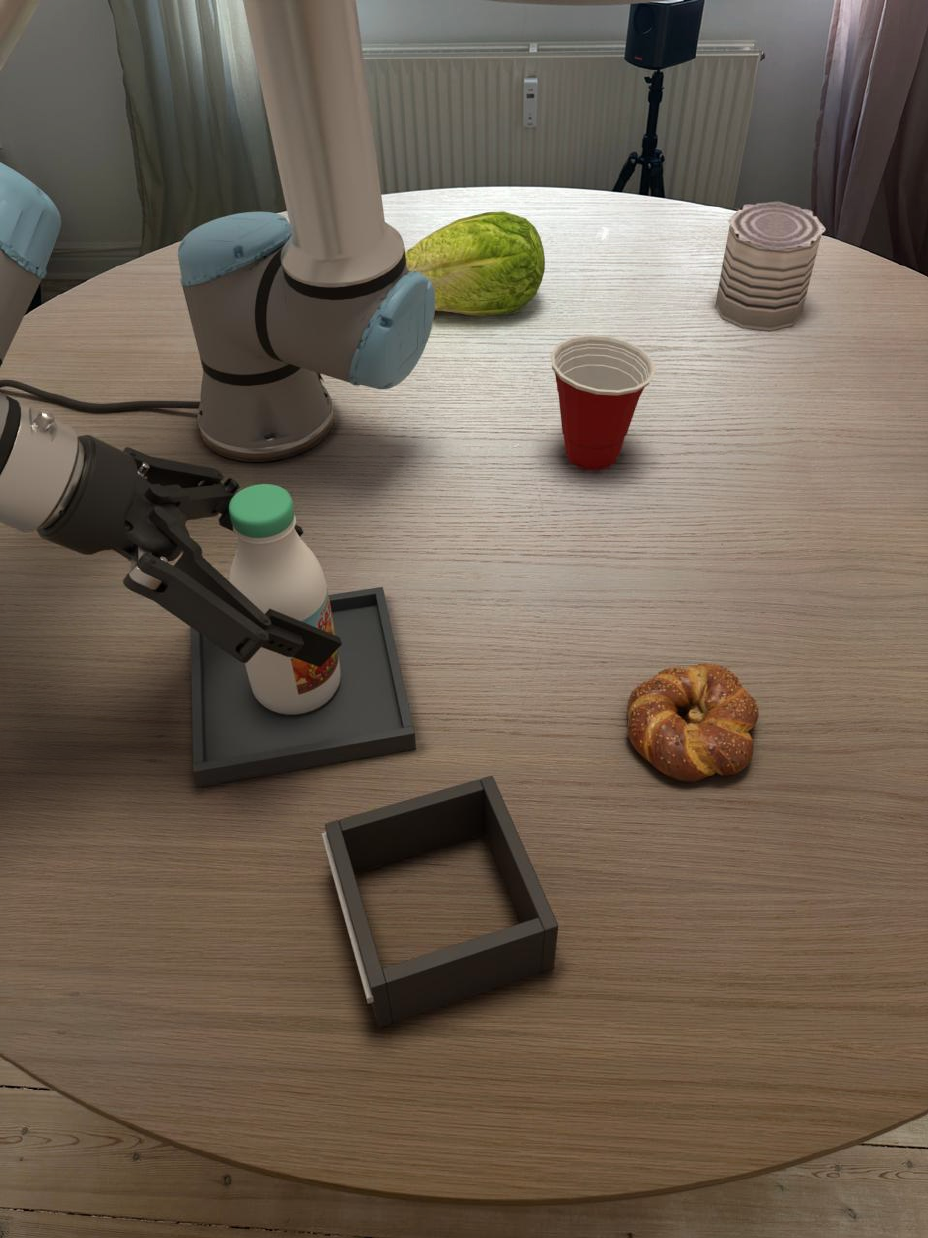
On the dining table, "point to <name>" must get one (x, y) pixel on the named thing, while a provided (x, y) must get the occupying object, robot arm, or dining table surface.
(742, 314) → the can
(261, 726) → the tray
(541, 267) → the lettuce
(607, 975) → the dining table surface
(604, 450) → the plastic cup
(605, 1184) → the dining table surface
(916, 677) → the dining table surface
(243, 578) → the milk bottle
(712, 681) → the pretzel
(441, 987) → the collar base
